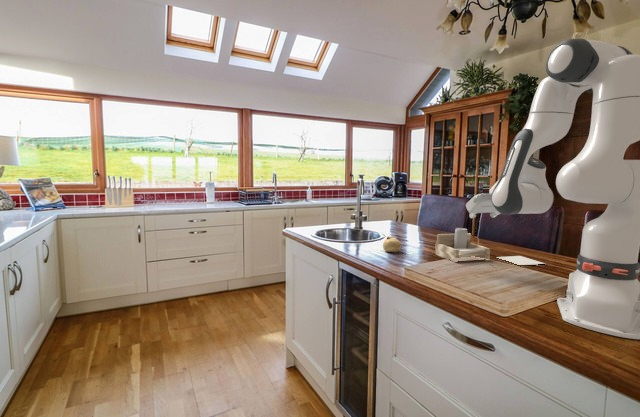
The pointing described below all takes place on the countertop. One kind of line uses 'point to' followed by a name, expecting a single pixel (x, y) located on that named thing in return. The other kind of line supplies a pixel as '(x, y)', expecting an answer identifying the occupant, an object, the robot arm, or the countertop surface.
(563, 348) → the countertop surface
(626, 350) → the countertop surface
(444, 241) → the birch rack
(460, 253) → the light wood bar
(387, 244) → the onion
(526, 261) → the ceramic tile
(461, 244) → the beverage can
